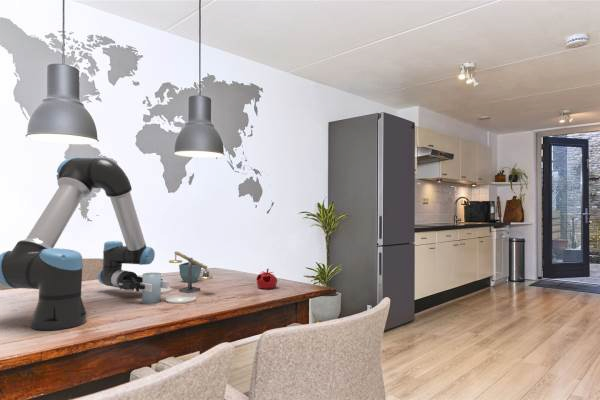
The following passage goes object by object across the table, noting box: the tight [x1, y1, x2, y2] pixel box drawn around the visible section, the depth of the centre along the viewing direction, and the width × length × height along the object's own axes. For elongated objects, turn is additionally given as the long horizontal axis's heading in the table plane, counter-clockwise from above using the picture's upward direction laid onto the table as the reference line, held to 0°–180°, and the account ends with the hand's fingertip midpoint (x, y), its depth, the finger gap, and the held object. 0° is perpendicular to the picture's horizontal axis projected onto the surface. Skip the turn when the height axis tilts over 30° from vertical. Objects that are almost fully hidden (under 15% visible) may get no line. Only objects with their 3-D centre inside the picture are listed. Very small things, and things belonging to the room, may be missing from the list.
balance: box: [168, 251, 214, 294], centre depth 180 cm, size 7×26×17 cm, turn 56°
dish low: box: [165, 293, 197, 305], centre depth 162 cm, size 12×12×1 cm
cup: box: [141, 272, 162, 305], centre depth 159 cm, size 7×7×11 cm
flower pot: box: [178, 261, 203, 283], centre depth 203 cm, size 9×9×9 cm
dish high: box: [161, 286, 172, 294], centre depth 178 cm, size 12×12×1 cm
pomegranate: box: [256, 268, 278, 290], centre depth 191 cm, size 10×10×9 cm
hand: (159, 286), depth 156 cm, fingers closed on cup, 7 cm apart
